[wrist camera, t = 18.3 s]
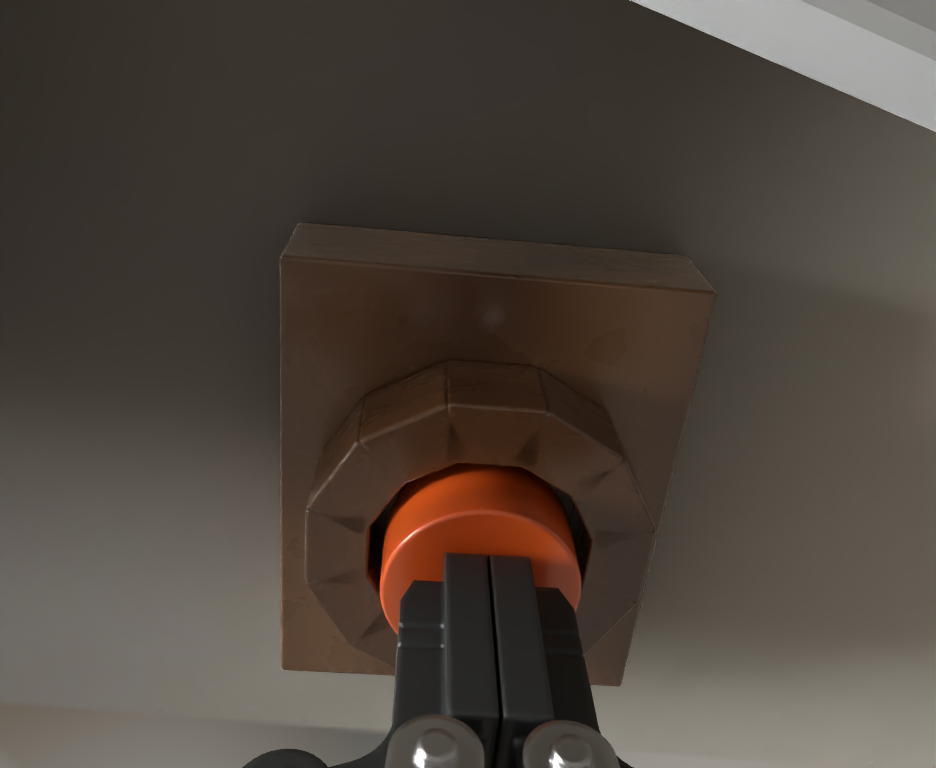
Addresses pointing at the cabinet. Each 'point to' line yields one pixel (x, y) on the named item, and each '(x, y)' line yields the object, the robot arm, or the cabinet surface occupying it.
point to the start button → (476, 529)
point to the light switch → (833, 44)
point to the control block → (474, 412)
